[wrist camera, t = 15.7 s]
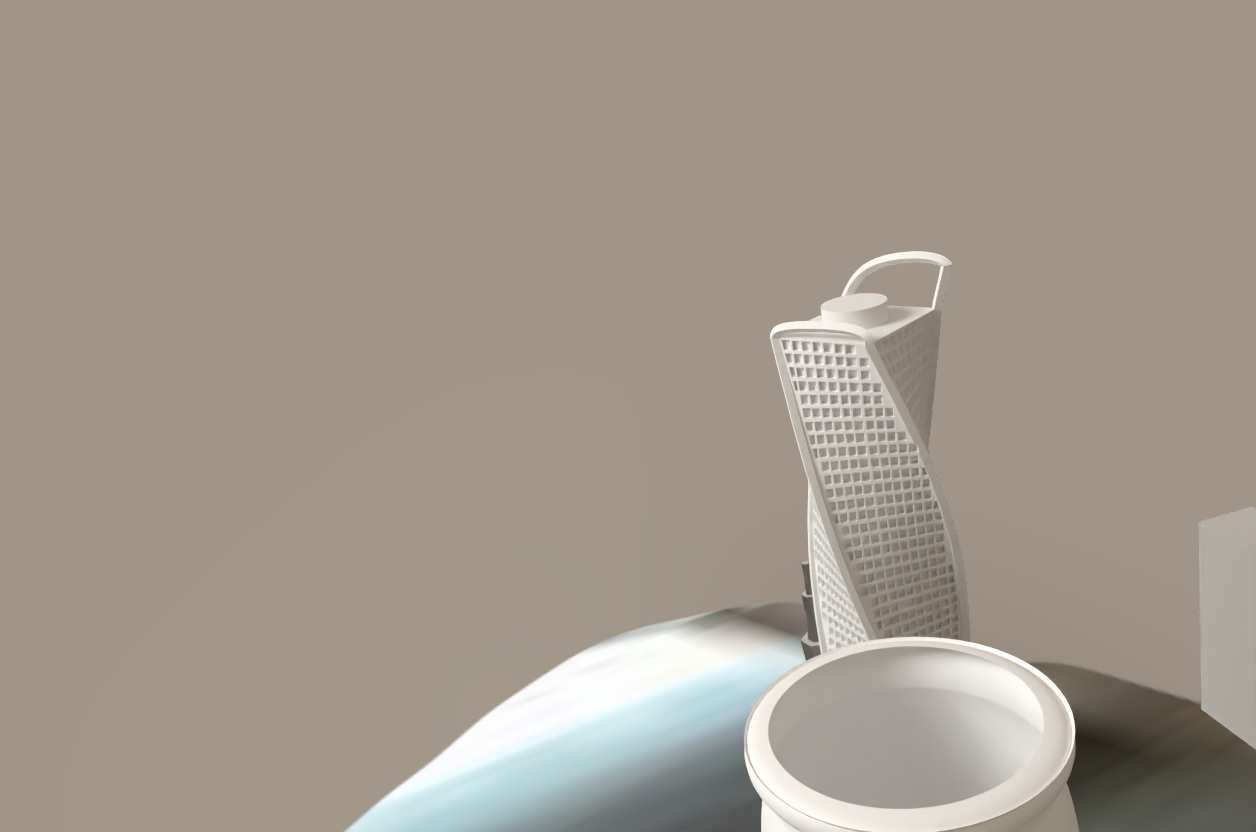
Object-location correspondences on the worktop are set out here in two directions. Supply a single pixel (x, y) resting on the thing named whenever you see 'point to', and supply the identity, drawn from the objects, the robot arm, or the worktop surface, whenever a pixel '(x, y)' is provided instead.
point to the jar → (912, 742)
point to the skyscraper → (872, 468)
